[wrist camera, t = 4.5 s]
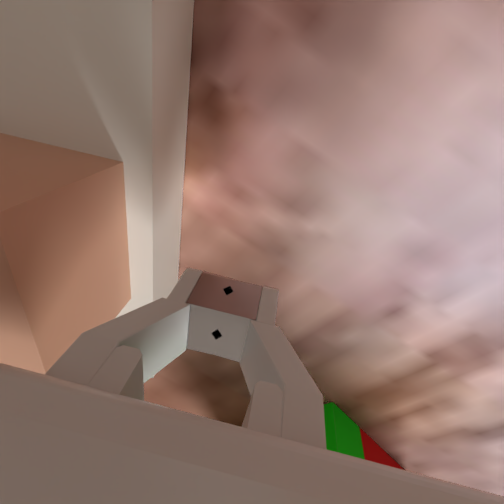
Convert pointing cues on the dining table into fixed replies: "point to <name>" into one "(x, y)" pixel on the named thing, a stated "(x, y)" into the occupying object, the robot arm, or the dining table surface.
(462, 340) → the dining table surface
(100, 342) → the robot arm
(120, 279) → the block
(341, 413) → the puzzle toy
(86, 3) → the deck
